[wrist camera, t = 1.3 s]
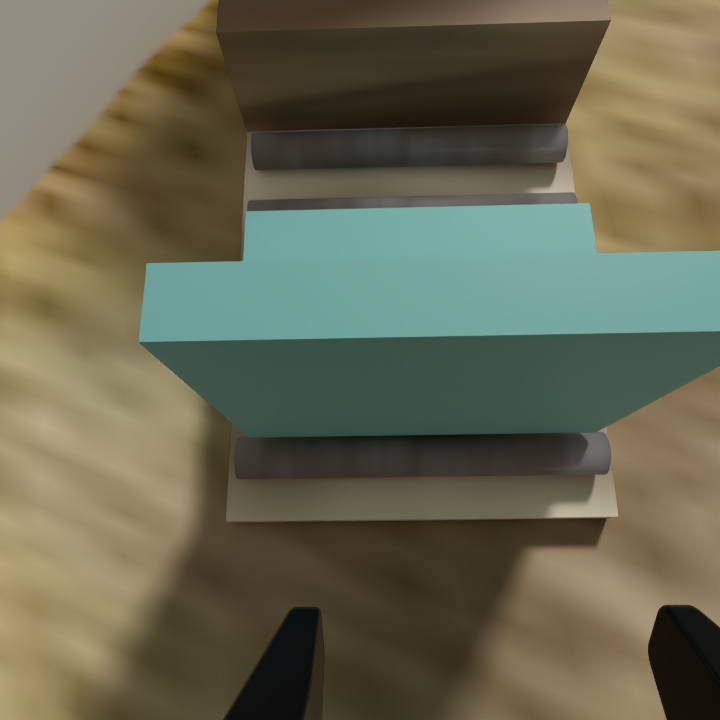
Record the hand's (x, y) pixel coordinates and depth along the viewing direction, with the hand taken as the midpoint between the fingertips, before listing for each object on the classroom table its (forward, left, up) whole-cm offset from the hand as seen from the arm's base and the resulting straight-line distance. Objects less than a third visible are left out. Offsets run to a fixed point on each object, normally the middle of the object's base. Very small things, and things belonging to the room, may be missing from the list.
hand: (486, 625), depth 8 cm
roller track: (+9, +6, -13) cm, 17 cm away
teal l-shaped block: (+6, +5, -10) cm, 13 cm away
